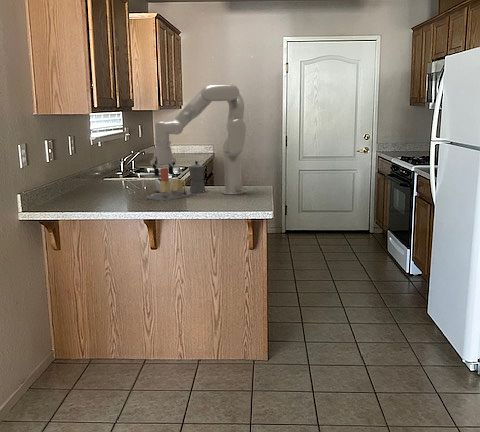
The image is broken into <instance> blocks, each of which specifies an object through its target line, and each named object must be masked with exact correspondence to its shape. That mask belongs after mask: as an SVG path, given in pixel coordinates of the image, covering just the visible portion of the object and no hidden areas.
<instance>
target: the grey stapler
mask: <svg viewBox="0 0 480 432" xmlns="http://www.w3.org/2000/svg"><path fill="white" fill-rule="evenodd" d="M160 181H161V177H158V178H156V179H155V180H154V185H155V187H156V190H157V191H158V193H161V187H160ZM170 191H171V189H170Z"/></svg>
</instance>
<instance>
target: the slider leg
mask: <svg viewBox="0 0 480 432" xmlns="http://www.w3.org/2000/svg"><path fill="white" fill-rule="evenodd" d="M159 172H160V178H161V181H160V187H161V192H170V190H171V195H173V191H174V189H173V180H172V181H171V180H169V178H170V177H169V167H161V168H160V169H159ZM161 192H160V193H161Z"/></svg>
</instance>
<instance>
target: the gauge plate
mask: <svg viewBox="0 0 480 432" xmlns="http://www.w3.org/2000/svg"><path fill="white" fill-rule="evenodd" d="M172 187H173V195H171V191H170V192H156V193H150V195H146V196H145V199H148V200H151V201H152V200H153V201H159V202H162V201H163V202H165V201H168V200H169V201H170V200H176V199H181V198H188V197H194V196H196V195H197V193H191V192H190V191H186V180H185V179H180V178H176V179H173V180H172Z"/></svg>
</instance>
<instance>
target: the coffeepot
mask: <svg viewBox="0 0 480 432" xmlns="http://www.w3.org/2000/svg"><path fill="white" fill-rule="evenodd" d="M194 163H195V164H193V165H189V166H188V171H189V172H188V173H189V177H190V178H191V180H190V187H189V192H191V193H196V194H198V193H197V192H202V193H204V192H203V191H205V192H206V187H205V183H204V176H205V175H204V174H205V167H206V166H205V165H202V164H199V162H198V161H196V160H195V161H194Z"/></svg>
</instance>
